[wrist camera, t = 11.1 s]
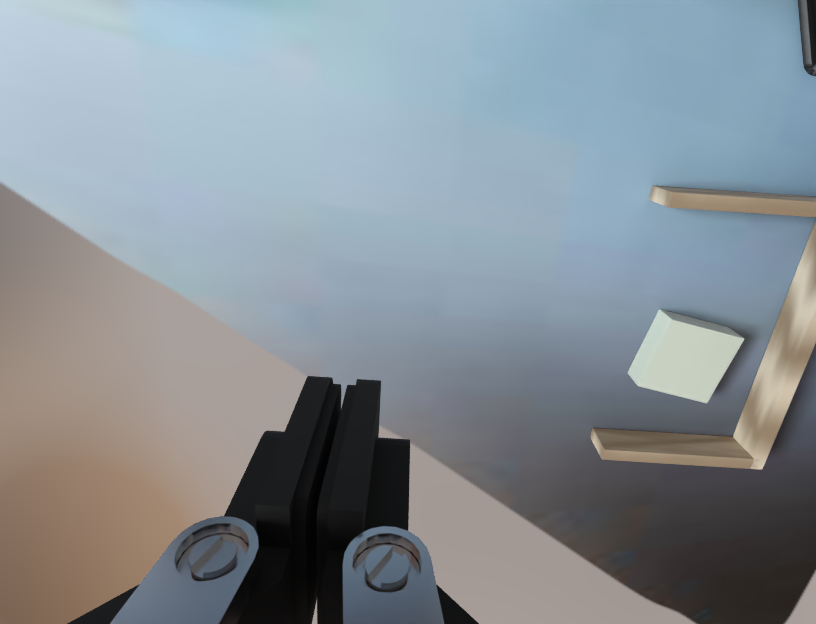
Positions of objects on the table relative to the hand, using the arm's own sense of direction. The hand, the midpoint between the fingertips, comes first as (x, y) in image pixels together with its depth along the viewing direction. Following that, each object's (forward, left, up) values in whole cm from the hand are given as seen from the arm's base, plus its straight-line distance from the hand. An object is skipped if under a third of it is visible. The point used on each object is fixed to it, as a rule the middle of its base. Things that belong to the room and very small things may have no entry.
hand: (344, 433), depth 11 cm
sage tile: (+10, +24, -28) cm, 38 cm away
